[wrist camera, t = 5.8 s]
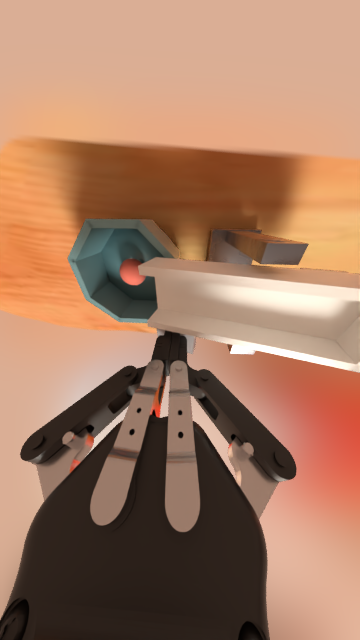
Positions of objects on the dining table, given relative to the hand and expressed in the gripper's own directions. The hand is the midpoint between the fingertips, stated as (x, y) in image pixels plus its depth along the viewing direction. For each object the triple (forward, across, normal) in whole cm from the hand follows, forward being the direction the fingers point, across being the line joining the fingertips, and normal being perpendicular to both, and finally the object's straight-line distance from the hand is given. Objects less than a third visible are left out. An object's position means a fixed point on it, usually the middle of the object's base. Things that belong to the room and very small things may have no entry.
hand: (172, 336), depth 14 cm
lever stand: (+8, -6, -5) cm, 11 cm away
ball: (+6, +5, -4) cm, 9 cm away
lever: (+3, -7, -3) cm, 8 cm away
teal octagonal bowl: (+8, +5, -4) cm, 11 cm away
